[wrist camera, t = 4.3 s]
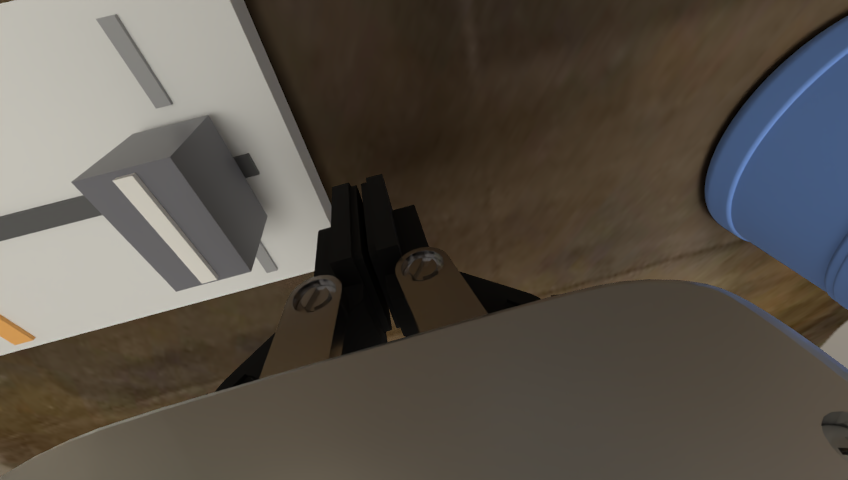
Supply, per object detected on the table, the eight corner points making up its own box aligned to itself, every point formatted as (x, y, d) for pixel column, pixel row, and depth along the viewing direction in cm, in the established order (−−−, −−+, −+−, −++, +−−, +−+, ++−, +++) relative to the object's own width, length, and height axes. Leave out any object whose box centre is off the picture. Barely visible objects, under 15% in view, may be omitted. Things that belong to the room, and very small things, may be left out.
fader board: (225, -43, 13) (207, -46, 11) (346, 241, 22) (347, 264, 20) (-583, 146, 12) (-740, 175, 10) (-109, 363, 21) (-150, 398, 19)
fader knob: (208, 114, 14) (167, 159, 10) (267, 216, 17) (250, 275, 13) (132, 133, 13) (66, 185, 10) (206, 232, 17) (174, 295, 13)
